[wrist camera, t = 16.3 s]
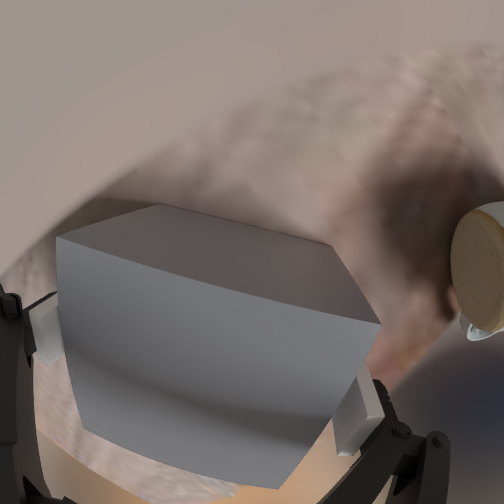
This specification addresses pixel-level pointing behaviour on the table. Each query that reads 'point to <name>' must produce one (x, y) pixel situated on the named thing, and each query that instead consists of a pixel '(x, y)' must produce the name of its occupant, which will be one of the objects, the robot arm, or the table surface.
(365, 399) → the robot arm
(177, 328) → the grey cube
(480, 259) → the ceramic mug
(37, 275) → the table surface
